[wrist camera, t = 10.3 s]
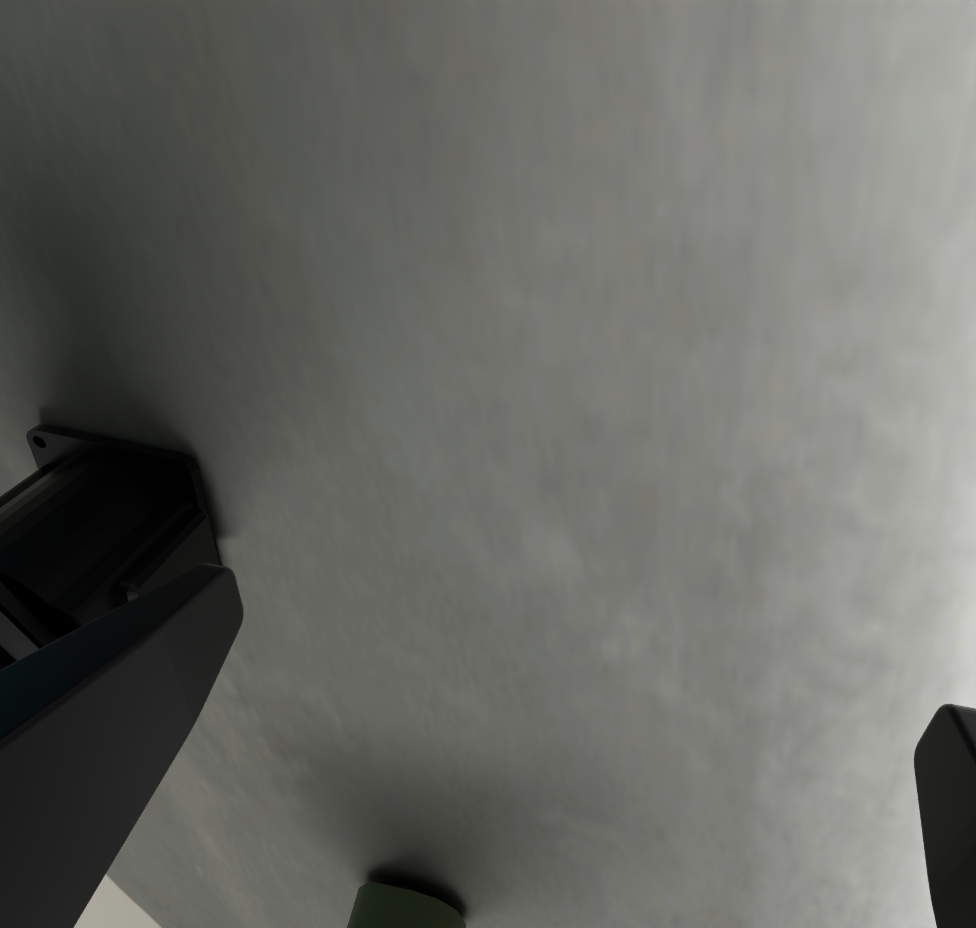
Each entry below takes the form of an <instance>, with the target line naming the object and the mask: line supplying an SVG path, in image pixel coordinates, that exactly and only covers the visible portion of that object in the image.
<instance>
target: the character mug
mask: <svg viewBox="0 0 976 928" xmlns="http://www.w3.org/2000/svg"><path fill="white" fill-rule="evenodd" d="M347 928H466V923H465V922H464V920H463V919H462V917H461V916H460V914H459V913H458V911H457V910H455V909H454V908H452V907H450V906H449V905H447V904H445V903H444V902H442V901H440V900H439V899H436V898H433V897H430V896H427V895H424V894H421V893H418V892H415V891H412V890H409V888H408V887H407V886H406V885H402V886H400V887H399V888H398V887H394V886H389V885H384V884H380V883H375V882H370V881H369V882H368V883H366V884H364V885H363V886H361V887H360V888H359V890H358V893H357V896H356V900H355V903H354V906H353V910H352V913H351V916H350V920H349V923H348V926H347Z"/></svg>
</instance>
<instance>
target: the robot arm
mask: <svg viewBox="0 0 976 928" xmlns="http://www.w3.org/2000/svg"><path fill="white" fill-rule="evenodd" d="M27 440H28V443H29V445H30V448H31V451H32V453H33V456H34V459H35V461H36V464H37V466H38V469H39V470H37V471H36V472H34V473H33V474H32V475H30V476H29V477H27V478H26V479H25V480H23V481H22V482H20V483H19V484H18V485H16V486H15V487H13V488H12V489H11V490H9V491H8V492H6V493H5V494H4V495H2V496H1V497H0V928H74V926H75V924H76V923H77V921H78V919H79V918H80V916H81V914H82V912H83V911H84V909H85V907H86V906H87V904H88V902H89V901H90V899H91V897H92V896H93V894H94V892H95V891H96V889H97V887H98V886H99V884H100V882H101V881H102V879H103V877H104V876H105V874H106V872H107V871H108V869H109V867H110V866H111V864H112V862H113V861H114V859H115V857H116V856H117V854H118V852H119V851H120V849H121V847H122V846H123V844H124V842H125V840H126V839H127V837H128V835H129V834H130V832H131V830H132V829H133V827H134V825H135V824H136V822H137V820H138V819H139V817H140V815H141V814H142V812H143V810H144V809H145V807H146V805H147V804H148V802H149V800H150V799H151V797H152V795H153V794H154V792H155V790H156V789H157V787H158V785H159V784H160V782H161V780H162V779H163V777H164V775H165V774H166V772H167V770H168V769H169V767H170V765H171V763H172V762H173V760H174V758H175V757H176V755H177V753H178V752H179V750H180V748H181V747H182V745H183V743H184V742H185V740H186V738H187V737H188V735H189V733H190V731H191V729H192V728H193V726H194V724H195V722H196V720H197V718H198V716H199V714H200V712H201V710H202V708H203V706H204V704H205V702H206V700H207V698H208V696H209V693H210V691H211V689H212V687H213V685H214V683H215V681H216V678H217V676H218V674H219V672H220V670H221V668H222V666H223V663H224V661H225V659H226V657H227V655H228V653H229V651H230V648H231V646H232V644H233V642H234V640H235V638H236V636H237V633H238V631H239V629H240V627H241V624H242V621H243V605H242V601H241V597H240V593H239V590H238V586H237V582H236V578H235V574H234V572H233V571H232V570H231V569H230V568H228V567H224V566H219V561H218V556H217V552H216V547H215V543H214V538H213V534H212V529H211V524H210V520H209V515H208V511H207V506H206V502H205V497H204V492H203V488H202V483H201V479H200V474H199V470H198V466H197V464H196V462H195V461H194V460H193V459H192V458H191V457H190V456H188V455H187V454H184V453H180V452H175V451H171V450H166V449H161V448H156V447H151V446H146V445H141V444H136V443H132V442H127V441H122V440H117V439H112V438H107V437H102V436H97V435H93V434H88V433H83V432H78V431H73V430H68V429H63V428H59V427H54V426H49V425H44V424H39V425H38V426H36V427H34V428H33V429H31V430H30V431H28V432H27ZM914 769H915V777H916V785H917V793H918V801H919V809H920V818H921V826H922V834H923V842H924V850H925V858H926V867H927V875H928V882H929V888H930V895H931V901H932V906H933V911H934V915H935V920H936V925H937V928H976V709H975V708H970V707H964V706H959V705H954V704H945V705H943V706H941V707H940V708H939V709H938V710H937V712H936V713H935V715H934V717H933V718H932V720H931V722H930V723H929V725H928V727H927V728H926V730H925V732H924V734H923V735H922V737H921V739H920V740H919V742H918V744H917V746H916V749H915V755H914Z"/></svg>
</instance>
